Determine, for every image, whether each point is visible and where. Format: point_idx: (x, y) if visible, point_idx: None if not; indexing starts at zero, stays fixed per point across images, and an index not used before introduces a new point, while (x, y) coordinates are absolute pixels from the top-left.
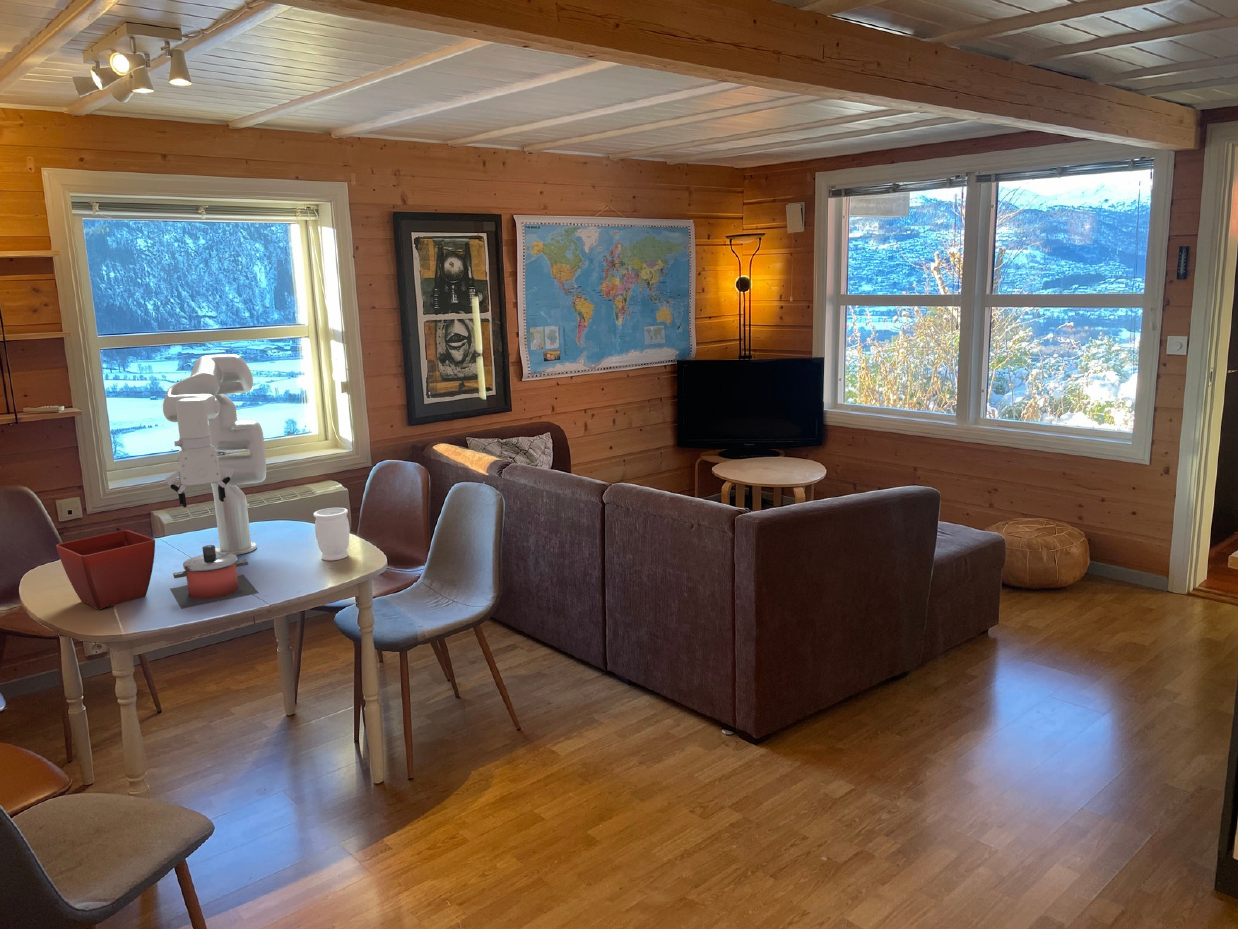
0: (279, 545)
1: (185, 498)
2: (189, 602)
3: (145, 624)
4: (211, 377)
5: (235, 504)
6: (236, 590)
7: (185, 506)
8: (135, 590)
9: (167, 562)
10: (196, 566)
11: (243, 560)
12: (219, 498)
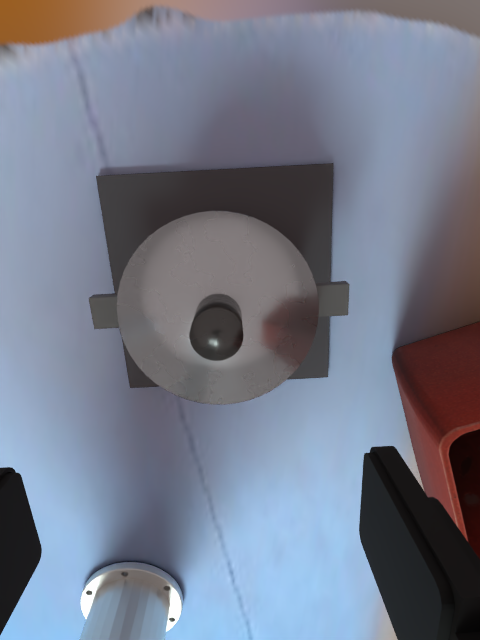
0: None
1: (406, 526)
2: (302, 211)
3: (446, 93)
4: None
5: None
6: None
7: (378, 448)
8: (433, 344)
9: (293, 589)
10: (277, 261)
11: (103, 322)
12: (28, 550)
